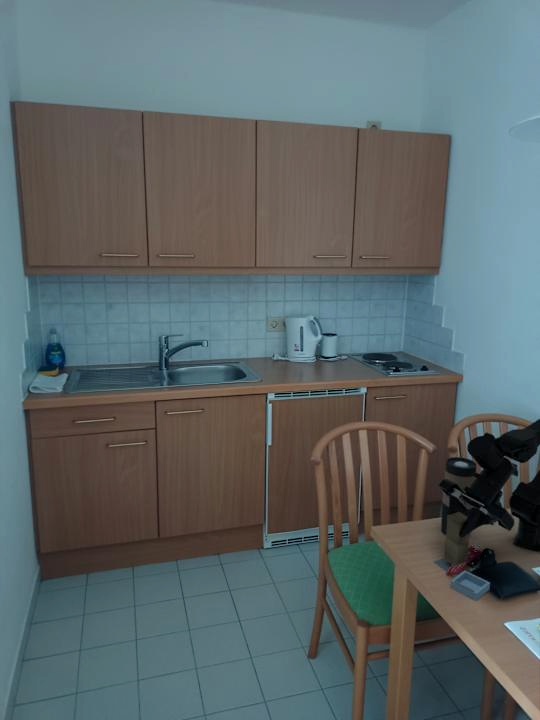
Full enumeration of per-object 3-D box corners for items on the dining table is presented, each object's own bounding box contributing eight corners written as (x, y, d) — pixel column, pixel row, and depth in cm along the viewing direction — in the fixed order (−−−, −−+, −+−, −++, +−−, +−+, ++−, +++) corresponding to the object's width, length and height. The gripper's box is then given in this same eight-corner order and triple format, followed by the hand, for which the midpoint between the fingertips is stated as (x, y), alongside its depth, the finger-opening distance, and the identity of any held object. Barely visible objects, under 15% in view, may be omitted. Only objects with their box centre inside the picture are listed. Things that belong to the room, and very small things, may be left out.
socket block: (463, 578, 120) (464, 569, 119) (489, 590, 115) (490, 581, 115) (450, 588, 116) (450, 579, 115) (475, 602, 111) (476, 593, 111)
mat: (454, 556, 129) (454, 554, 128) (477, 571, 122) (477, 569, 122) (432, 563, 125) (432, 561, 125) (455, 579, 119) (455, 577, 119)
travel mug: (434, 528, 142) (439, 458, 138) (458, 524, 144) (464, 455, 140) (451, 542, 134) (458, 469, 131) (476, 538, 137) (483, 466, 133)
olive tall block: (455, 554, 126) (459, 512, 124) (467, 562, 123) (471, 519, 121) (443, 558, 124) (447, 515, 122) (455, 566, 121) (459, 522, 119)
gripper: (540, 513, 120) (502, 569, 117) (475, 482, 136) (440, 530, 133) (520, 487, 115) (479, 545, 112) (455, 458, 131) (419, 508, 128)
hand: (453, 532), depth 122 cm, fingers closed on olive tall block, 4 cm apart
